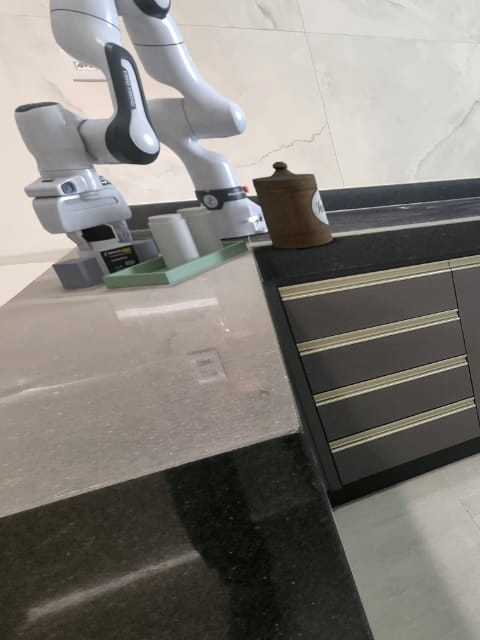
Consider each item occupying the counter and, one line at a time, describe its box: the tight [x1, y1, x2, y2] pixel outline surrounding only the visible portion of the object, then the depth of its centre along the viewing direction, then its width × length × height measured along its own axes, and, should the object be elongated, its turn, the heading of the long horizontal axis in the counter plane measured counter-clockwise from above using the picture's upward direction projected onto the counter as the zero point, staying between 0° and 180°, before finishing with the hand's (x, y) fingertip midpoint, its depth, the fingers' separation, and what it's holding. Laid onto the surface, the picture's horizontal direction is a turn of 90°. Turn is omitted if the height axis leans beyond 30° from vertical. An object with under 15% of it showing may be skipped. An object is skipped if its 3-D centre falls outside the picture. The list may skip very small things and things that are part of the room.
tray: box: [102, 240, 249, 289], centre depth 128 cm, size 32×13×3 cm, turn 7°
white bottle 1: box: [147, 213, 200, 270], centre depth 126 cm, size 7×7×12 cm
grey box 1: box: [51, 257, 105, 290], centre depth 116 cm, size 5×5×6 cm
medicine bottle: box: [75, 224, 140, 276], centre depth 123 cm, size 7×7×12 cm
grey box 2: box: [126, 239, 161, 263], centre depth 132 cm, size 5×5×6 cm
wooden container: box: [251, 161, 334, 250], centre depth 145 cm, size 15×15×22 cm
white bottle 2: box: [176, 206, 224, 257], centre depth 135 cm, size 7×7×12 cm
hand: (103, 246), depth 122 cm, fingers open, 8 cm apart
